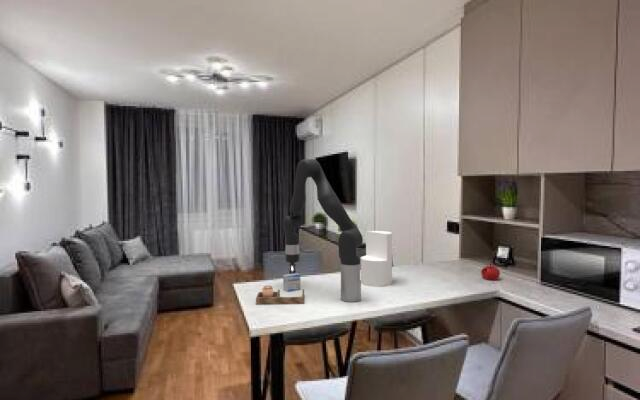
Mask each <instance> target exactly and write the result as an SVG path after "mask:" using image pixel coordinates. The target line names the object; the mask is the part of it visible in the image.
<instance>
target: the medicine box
mask: <svg viewBox="0 0 640 400" xmlns="http://www.w3.org/2000/svg"><path fill="white" fill-rule="evenodd" d="M282 278H283V280H282V281H283V284H282V285H283V288H282V289H283V291H284V292H285V293H289V292H290V293H291V292H296V291H300V290H301V274H300V273H299V272H296V273H293V274H289V273H287V274H286V273H285V274H283V277H282Z"/></svg>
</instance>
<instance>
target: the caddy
mask: <svg viewBox="0 0 640 400" xmlns="http://www.w3.org/2000/svg"><path fill="white" fill-rule="evenodd" d="M280 291H281V290H280V289H277V291H273V297H263V295H262V291H259V292H257V295H256V297H255V305H256V306H258V305H259V306H261V305H265V306H266V305H268V306H269V305H304V304H305V288H302V294H301V295H302V296H281V293H280Z"/></svg>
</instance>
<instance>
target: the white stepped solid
mask: <svg viewBox="0 0 640 400" xmlns="http://www.w3.org/2000/svg"><path fill="white" fill-rule="evenodd" d="M365 232H366V233H365V255H363V256H360V280H361V285H363V286H367V287H375V288H376V287H378V288H379V287H380V288H381V287H387V286H391V285H393V232H391V231H386V230H366V231H365Z"/></svg>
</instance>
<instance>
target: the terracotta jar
mask: <svg viewBox="0 0 640 400" xmlns="http://www.w3.org/2000/svg"><path fill="white" fill-rule="evenodd" d="M261 292H262V295H263V297H273V292H274V287H273V286H272V285H264V286H263V287H262V291H261Z"/></svg>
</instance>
